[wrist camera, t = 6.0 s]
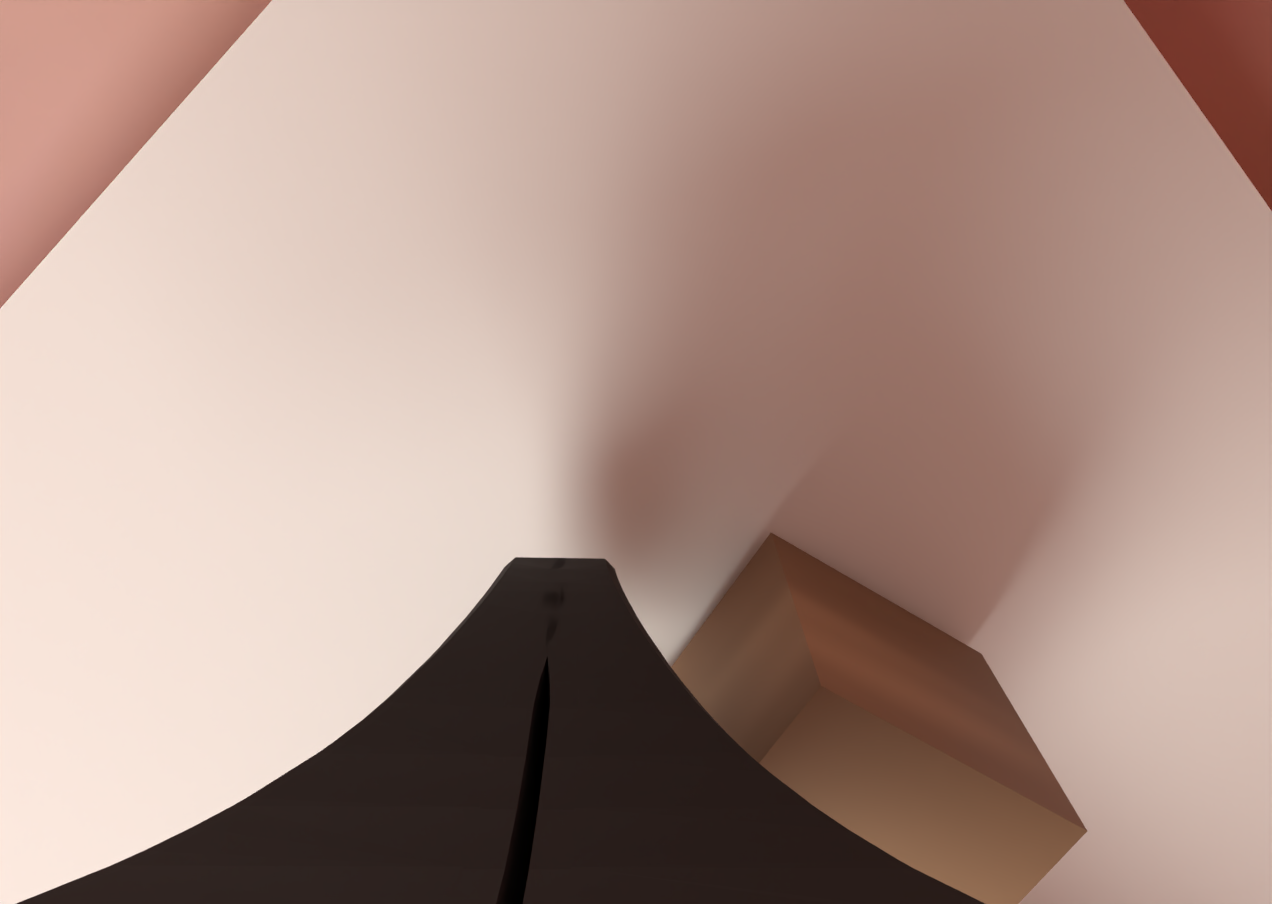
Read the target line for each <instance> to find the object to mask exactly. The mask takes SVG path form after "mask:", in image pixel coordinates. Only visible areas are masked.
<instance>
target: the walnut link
mask: <svg viewBox="0 0 1272 904" xmlns="http://www.w3.org/2000/svg"><path fill="white" fill-rule="evenodd" d="M671 668H672V669H673V670H674V672H675V673H676V674H677V676H678V677H679V678H680V680H681V681H682V682H683V683H684V685H685V686H686V687H687V688H688V689H689V691H690V692H691V693H692V694H693V696H694V697H695V698H696V699H697V700H698V702H699V703H700V704H701V705H702V706H703V708H704V709H705V710H706V711H707V712H708V713H709V714H710V715H711V716H712V718H713V719H714V720H715V721H716V722H717V723H718V724H719V725H720V726H721V727H722V728H723V729H724V730H725V732H726V733H727V734H728V735H729V736H730V737H731V738H732V739H733V740H735V741H736V742H737V743H738V744H739V745H740V746H741V747H742V748H743V749H744V750H745V751H746V752H747V753H748V754H749V755H750V756H751V757H752V758H754V759H755V760H756V761H757V762H758V763H759V764H761V765H762V766H763V767H764V768H765V769H767V770H768V771H769V772H770V773H771V774H773V775H774V776H775V777H777V778H778V779H779V780H780V781H782V782H783V783H784V784H786V785H787V786H788V787H790V788H791V789H792V790H794V791H795V792H796V793H797V794H799V795H800V796H801V797H803V798H804V799H805V800H807V801H808V802H809V803H810V804H812V805H813V806H815V807H816V808H817V809H819V810H820V811H822V812H823V813H825V814H826V815H828V816H829V817H831V818H832V819H834V820H835V821H837V822H838V823H840V824H841V825H843V826H844V827H846V828H847V829H848V830H850V831H852V832H853V833H855V834H857V835H858V836H860V837H862V838H863V839H865V840H867V841H868V842H870V843H872V844H873V845H875V846H876V847H878V848H880V849H881V850H883V851H885V852H886V853H888V854H890V855H891V856H893V857H895V858H896V859H898V860H900V861H901V862H903V863H905V864H907V865H909V866H910V867H912V868H914V869H916V870H918V871H920V872H922V873H924V874H926V875H928V876H930V877H932V878H934V879H936V880H938V881H940V882H942V883H944V884H946V885H948V886H951V887H953V888H955V889H957V890H959V891H961V892H963V893H965V894H967V895H969V896H971V897H973V898H975V899H977V900H979V901H981V902H983V903H985V904H1019V903H1020V901H1021V900H1022V899H1023V898H1024V897H1025V896H1026V895H1027V894H1028V893H1029V892H1030V891H1031V890H1032V889H1033V888H1034V887H1035V886H1036V885H1037V884H1038V883H1039V882H1040V880H1041V879H1042V878H1043V877H1044V876H1045V875H1046V874H1047V873H1048V872H1049V871H1050V870H1051V869H1052V868H1053V867H1054V866H1055V865H1056V864H1057V863H1058V862H1059V861H1060V859H1061V858H1062V857H1063V856H1064V855H1065V854H1066V853H1067V852H1068V851H1069V850H1070V849H1071V848H1072V847H1073V846H1074V845H1075V844H1076V843H1077V842H1078V841H1079V840H1080V838H1081V837H1082V836H1083V835H1084V834H1085V833H1086V832H1087V829H1086V828H1085V826H1084V824H1083V823H1082V821H1081V819H1080V818H1079V816H1078V814H1077V813H1076V811H1075V809H1074V808H1073V806H1072V804H1071V803H1070V801H1069V799H1068V798H1067V796H1066V794H1065V793H1064V791H1063V789H1062V788H1061V786H1060V784H1059V783H1058V781H1057V779H1056V778H1055V776H1054V774H1053V773H1052V771H1051V769H1050V768H1049V766H1048V764H1047V763H1046V761H1045V759H1044V757H1043V756H1042V754H1041V752H1040V751H1039V749H1038V747H1037V746H1036V744H1035V742H1034V741H1033V739H1032V737H1031V736H1030V734H1029V732H1028V731H1027V729H1026V727H1025V726H1024V724H1023V722H1022V721H1021V719H1020V717H1019V716H1018V714H1017V712H1016V711H1015V709H1014V707H1013V706H1012V704H1011V702H1010V701H1009V699H1008V697H1007V696H1006V694H1005V692H1004V691H1003V689H1002V687H1001V686H1000V684H999V682H998V681H997V679H996V677H995V675H994V674H993V672H992V670H991V669H990V667H989V665H988V664H987V662H986V660H985V659H984V657H983V655H982V654H981V653H980V652H978V651H976V650H974V649H973V648H971V647H969V646H967V645H966V644H964V643H962V642H960V641H959V640H957V639H955V638H953V637H952V636H950V635H948V634H947V633H945V632H943V631H941V630H940V629H938V628H936V627H934V626H933V625H931V624H929V623H927V622H926V621H924V620H922V619H921V618H919V617H917V616H915V615H914V614H912V613H910V612H908V611H907V610H905V609H903V608H901V607H900V606H898V605H896V604H894V603H893V602H891V601H889V600H888V599H886V598H884V597H882V596H881V595H879V594H877V593H875V592H874V591H872V590H870V589H868V588H867V587H865V586H863V585H861V584H860V583H858V582H856V581H855V580H853V579H851V578H849V577H848V576H846V575H844V574H842V573H841V572H839V571H837V570H835V569H834V568H832V567H830V566H829V565H827V564H825V563H823V562H822V561H820V560H818V559H816V558H815V557H813V556H811V555H809V554H808V553H806V552H804V551H802V550H801V549H799V548H797V547H796V546H794V545H792V544H790V543H789V542H787V541H785V540H783V539H782V538H780V537H778V536H776V535H775V534H773V533H770V534H769V536H768V537H767V538H766V540H765V541H764V542H763V544H762V545H761V546H760V548H759V549H758V550H757V552H756V553H755V555H754V556H753V557H752V559H751V560H750V561H749V563H748V564H747V565H746V567H745V568H744V569H743V571H742V572H741V573H740V575H739V576H738V577H737V579H736V580H735V582H734V583H733V584H732V586H731V587H730V588H729V590H728V591H727V592H726V594H725V595H724V596H723V598H722V599H721V600H720V602H719V603H718V605H717V606H716V607H715V609H714V610H713V611H712V613H711V614H710V615H709V617H708V618H707V619H706V621H705V622H704V623H703V625H702V626H701V627H700V629H699V630H698V632H697V633H696V634H695V636H694V637H693V638H692V640H691V641H690V642H689V644H688V645H687V646H686V648H685V649H684V650H683V652H682V653H681V655H680V656H679V657H678V659H677V660H676V661H675V663H674V664H673V665H672V667H671Z"/></svg>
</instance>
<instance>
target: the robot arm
mask: <svg viewBox="0 0 1272 904" xmlns="http://www.w3.org/2000/svg"><path fill="white" fill-rule="evenodd" d="M16 904H985V903H983V902H981V901H979V900H977V899H975V898H973V897H971V896H969V895H967V894H965V893H963V892H961V891H959V890H957V889H955V888H953V887H951V886H948V885H946V884H944V883H942V882H940V881H938V880H936V879H934V878H932V877H930V876H928V875H926V874H924V873H922V872H920V871H918V870H916V869H914V868H912V867H910V866H909V865H907V864H905V863H903V862H901V861H900V860H898V859H896V858H895V857H893V856H891V855H890V854H888V853H886V852H885V851H883V850H881V849H880V848H878V847H876V846H875V845H873V844H872V843H870V842H868V841H867V840H865V839H863V838H862V837H860V836H858V835H857V834H855V833H853V832H852V831H850V830H848V829H847V828H846V827H844V826H843V825H841V824H840V823H838V822H837V821H835V820H834V819H832V818H831V817H829V816H828V815H826V814H825V813H823V812H822V811H820V810H819V809H817V808H816V807H815V806H813V805H812V804H810V803H809V802H808V801H807V800H805V799H804V798H803V797H801V796H800V795H799V794H797V793H796V792H795V791H794V790H792V789H791V788H790V787H788V786H787V785H786V784H784V783H783V782H782V781H780V780H779V779H778V778H777V777H775V776H774V775H773V774H771V773H770V772H769V771H768V770H767V769H765V768H764V767H763V766H762V765H761V764H759V763H758V762H757V761H756V760H755V759H754V758H752V757H751V756H750V755H749V754H748V753H747V752H746V751H745V750H744V749H743V748H742V747H741V746H740V745H739V744H738V743H737V742H736V741H735V740H733V739H732V738H731V737H730V736H729V735H728V734H727V733H726V732H725V730H724V729H723V728H722V727H721V726H720V725H719V724H718V723H717V722H716V721H715V720H714V719H713V718H712V716H711V715H710V714H709V713H708V712H707V711H706V710H705V709H704V708H703V706H702V705H701V704H700V703H699V702H698V700H697V699H696V698H695V697H694V696H693V694H692V693H691V692H690V691H689V689H688V688H687V687H686V686H685V685H684V683H683V682H682V681H681V680H680V678H679V677H678V676H677V674H676V673H675V672H674V670H673V669H672V668H671V666H670V665H669V664H668V662H667V661H666V659H665V658H664V657H663V655H662V654H661V652H660V651H659V649H658V648H657V646H656V645H655V643H654V642H653V640H652V639H651V637H650V636H649V635H648V633H647V632H646V630H645V628H644V627H643V625H642V624H641V622H640V620H639V619H638V617H637V615H636V613H635V612H634V610H633V608H632V606H631V604H630V603H629V601H628V599H627V597H626V595H625V593H624V591H623V589H622V587H621V585H620V582H619V580H618V577H617V574H616V571H615V568H614V567H613V566H612V565H611V564H610V563H609V562H608V561H607V560H606V559H601V558H531V557H515V558H514V559H513V560H512V561H511V562H509V563H508V564H507V565H506V566H505V567H504V568H503V570H502V571H501V573H500V574H499V575H498V577H497V578H496V580H495V581H494V582H493V584H492V585H491V586H490V588H489V589H488V590H487V592H486V593H485V594H484V596H483V597H482V598H481V599H480V601H479V602H478V603H477V604H476V605H475V607H474V608H473V609H472V610H471V612H470V613H469V614H468V615H467V616H466V618H465V619H464V620H463V621H462V622H461V623H460V624H459V626H458V627H457V628H456V629H455V630H454V631H453V632H452V633H451V635H450V636H449V637H448V638H447V639H446V640H445V641H444V642H443V643H442V645H441V646H440V647H439V648H438V649H437V650H436V651H435V652H434V653H433V654H432V655H431V656H430V658H429V659H428V660H427V661H426V662H424V663H423V664H422V665H421V666H420V667H419V668H418V669H417V670H416V671H415V672H414V673H413V674H412V675H411V676H410V677H409V678H408V679H407V680H406V681H405V682H404V683H403V684H402V685H401V686H400V687H399V688H398V689H397V690H396V691H394V692H393V693H392V694H391V695H390V696H389V697H388V698H387V699H386V700H385V701H384V702H383V703H381V704H380V705H379V706H378V707H377V708H376V709H375V710H373V711H372V712H371V713H370V714H369V715H368V716H366V717H365V718H364V719H363V720H362V721H360V722H359V723H358V724H356V725H355V726H354V727H352V728H351V729H350V730H348V731H347V732H346V733H345V734H343V735H342V736H341V737H339V738H338V739H337V740H335V741H334V742H333V743H331V744H330V745H328V746H327V747H326V748H324V749H323V750H321V751H320V752H318V753H317V754H315V755H314V756H312V757H311V758H309V759H307V760H306V761H304V762H303V763H301V764H299V765H298V766H296V767H295V768H293V769H291V770H290V771H288V772H287V773H285V774H284V775H282V776H280V777H279V778H277V779H276V780H274V781H272V782H271V783H269V784H268V785H266V786H264V787H263V788H261V789H260V790H258V791H256V792H255V793H253V794H252V795H250V796H248V797H247V798H245V799H243V800H242V801H240V802H238V803H236V804H235V805H233V806H231V807H229V808H227V809H225V810H223V811H222V812H220V813H218V814H216V815H214V816H212V817H210V818H208V819H207V820H205V821H203V822H201V823H199V824H197V825H195V826H193V827H192V828H189V829H187V830H185V831H183V832H181V833H179V834H177V835H175V836H173V837H171V838H169V839H167V840H165V841H163V842H161V843H159V844H157V845H155V846H152V847H150V848H148V849H146V850H144V851H142V852H140V853H138V854H135V855H133V856H131V857H129V858H126V859H124V860H122V861H120V862H118V863H115V864H113V865H111V866H108V867H106V868H103V869H101V870H98V871H96V872H93V873H91V874H88V875H86V876H83V877H81V878H78V879H76V880H73V881H71V882H68V883H66V884H64V885H61V886H59V887H56V888H54V889H51V890H49V891H46V892H44V893H41V894H39V895H36V896H34V897H31V898H29V899H26V900H24V901H21V902H19V903H16Z"/></svg>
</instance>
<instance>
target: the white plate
mask: <svg viewBox="0 0 1272 904" xmlns="http://www.w3.org/2000/svg"><path fill="white" fill-rule="evenodd" d="M770 533H773V534H775V535H776V536H778V537H780V538H782V539H783V540H785V541H787V542H789V543H790V544H792V545H794V546H796V547H797V548H799V549H801V550H802V551H804V552H806V553H808V554H809V555H811V556H813V557H815V558H816V559H818V560H820V561H822V562H823V563H825V564H827V565H829V566H830V567H832V568H834V569H835V570H837V571H839V572H841V573H842V574H844V575H846V576H848V577H849V578H851V579H853V580H855V581H856V582H858V583H860V584H861V585H863V586H865V587H867V588H868V589H870V590H872V591H874V592H875V593H877V594H879V595H881V596H882V597H884V598H886V599H888V600H889V601H891V602H893V603H894V604H896V605H898V606H900V607H901V608H903V609H905V610H907V611H908V612H910V613H912V614H914V615H915V616H917V617H919V618H921V619H922V620H924V621H926V622H927V623H929V624H931V625H933V626H934V627H936V628H938V629H940V630H941V631H943V632H945V633H947V634H948V635H950V636H952V637H953V638H955V639H957V640H959V641H960V642H962V643H964V644H966V645H967V646H969V647H971V648H973V649H974V650H976V651H978V652H980V653H981V654H982V655H983V657H984V659H985V660H986V662H987V664H988V665H989V667H990V669H991V670H992V672H993V674H994V675H995V677H996V679H997V681H998V682H999V684H1000V686H1001V687H1002V689H1003V691H1004V692H1005V694H1006V696H1007V697H1008V699H1009V701H1010V702H1011V704H1012V706H1013V707H1014V709H1015V711H1016V712H1017V714H1018V716H1019V717H1020V719H1021V721H1022V722H1023V724H1024V726H1025V727H1026V729H1027V731H1028V732H1029V734H1030V736H1031V737H1032V739H1033V741H1034V742H1035V744H1036V746H1037V747H1038V749H1039V751H1040V752H1041V754H1042V756H1043V757H1044V759H1045V761H1046V763H1047V764H1048V766H1049V768H1050V769H1051V771H1052V773H1053V774H1054V776H1055V778H1056V779H1057V781H1058V783H1059V784H1060V786H1061V788H1062V789H1063V791H1064V793H1065V794H1066V796H1067V798H1068V799H1069V801H1070V803H1071V804H1072V806H1073V808H1074V809H1075V811H1076V813H1077V814H1078V816H1079V818H1080V819H1081V821H1082V823H1083V824H1084V826H1085V828H1086V829H1087V832H1086V833H1085V834H1084V835H1083V836H1082V837H1081V838H1080V840H1079V841H1078V842H1077V843H1076V844H1075V845H1074V846H1073V847H1072V848H1071V849H1070V850H1069V851H1068V852H1067V853H1066V854H1065V855H1064V856H1063V857H1062V858H1061V859H1060V861H1059V862H1058V863H1057V864H1056V865H1055V866H1054V867H1053V868H1052V869H1051V870H1050V871H1049V872H1048V873H1047V874H1046V875H1045V876H1044V877H1043V878H1042V879H1041V880H1040V882H1039V883H1038V884H1037V885H1036V886H1035V887H1034V888H1033V889H1032V890H1031V891H1030V892H1029V893H1028V894H1027V895H1026V896H1025V897H1024V898H1023V899H1022V900H1021V901H1020V903H1019V904H1272V211H1271V209H1270V208H1269V207H1268V205H1267V204H1266V202H1265V201H1264V199H1263V198H1262V197H1261V195H1260V194H1259V192H1258V191H1257V189H1256V188H1255V187H1254V185H1253V184H1252V182H1251V181H1250V179H1249V178H1248V177H1247V175H1246V174H1245V172H1244V171H1243V170H1242V168H1241V167H1240V165H1239V164H1238V162H1237V161H1236V160H1235V158H1234V157H1233V155H1232V154H1231V152H1230V151H1229V150H1228V148H1227V147H1226V145H1225V144H1224V142H1223V141H1222V140H1221V138H1220V137H1219V135H1218V134H1217V133H1216V131H1215V130H1214V128H1213V127H1212V125H1211V124H1210V123H1209V121H1208V120H1207V118H1206V117H1205V115H1204V114H1203V113H1202V111H1201V110H1200V108H1199V107H1198V105H1197V104H1196V103H1195V101H1194V100H1193V98H1192V97H1191V96H1190V94H1189V93H1188V91H1187V90H1186V88H1185V87H1184V86H1183V84H1182V83H1181V81H1180V80H1179V78H1178V77H1177V76H1176V74H1175V73H1174V71H1173V70H1172V69H1171V67H1170V66H1169V64H1168V63H1167V61H1166V60H1165V59H1164V57H1163V56H1162V54H1161V53H1160V51H1159V50H1158V49H1157V47H1156V46H1155V44H1154V43H1153V41H1152V40H1151V39H1150V37H1149V36H1148V34H1147V33H1146V32H1145V30H1144V29H1143V27H1142V26H1141V24H1140V23H1139V22H1138V20H1137V19H1136V17H1135V16H1134V14H1133V13H1132V12H1131V10H1130V9H1129V7H1128V6H1127V4H1126V3H1125V2H1124V0H272V1H271V2H270V3H269V4H268V5H267V7H266V8H265V9H264V10H263V11H262V12H261V13H260V15H259V16H258V17H257V18H256V19H255V20H254V21H253V22H252V24H251V25H250V26H249V27H248V28H247V29H246V30H245V32H244V33H243V34H242V35H241V36H240V37H239V38H238V40H237V41H236V42H235V43H234V44H233V45H232V46H231V47H230V49H229V50H228V51H227V52H226V53H225V54H224V55H223V57H222V58H221V59H220V60H219V61H218V62H217V63H216V64H215V66H214V67H213V68H212V69H211V70H210V71H209V72H208V74H207V75H206V76H205V77H204V78H203V79H202V80H201V81H200V83H199V84H198V85H197V86H196V87H195V88H194V89H193V91H192V92H191V93H190V94H189V95H188V96H187V97H186V98H185V100H184V101H183V102H182V103H181V104H180V105H179V106H178V108H177V109H176V110H175V111H174V112H173V113H172V114H171V115H170V117H169V118H168V119H167V120H166V121H165V122H164V123H163V125H162V126H161V127H160V128H159V129H158V130H157V131H156V133H155V134H154V135H153V136H152V137H151V138H150V139H149V140H148V142H147V143H146V144H145V145H144V146H143V147H142V148H141V150H140V151H139V152H138V153H137V154H136V155H135V156H134V157H133V159H132V160H131V161H130V162H129V163H128V164H127V165H126V167H125V168H124V169H123V170H122V171H121V172H120V173H119V174H118V176H117V177H116V178H115V179H114V180H113V181H112V182H111V184H110V185H109V186H108V187H107V188H106V189H105V190H104V191H103V193H102V194H101V195H100V196H99V197H98V198H97V199H96V201H95V202H94V203H93V204H92V205H91V206H90V207H89V208H88V210H87V211H86V212H85V213H84V214H83V215H82V216H81V218H80V219H79V220H78V221H77V222H76V223H75V224H74V226H73V227H72V228H71V229H70V230H69V231H68V232H67V233H66V235H65V236H64V237H63V238H62V239H61V240H60V241H59V243H58V244H57V245H56V246H55V247H54V248H53V249H52V250H51V252H50V253H49V254H48V255H47V256H46V257H45V258H44V260H43V261H42V262H41V263H40V264H39V265H38V266H37V267H36V269H35V270H34V271H33V272H32V273H31V274H30V275H29V277H28V278H27V279H26V280H25V281H24V282H23V283H22V284H21V286H20V287H19V288H18V289H17V290H16V291H15V292H14V294H13V295H12V296H11V297H10V298H9V299H8V300H7V301H6V303H5V304H4V305H3V306H2V307H1V308H0V904H16V903H19V902H21V901H24V900H26V899H29V898H31V897H34V896H36V895H39V894H41V893H44V892H46V891H49V890H51V889H54V888H56V887H59V886H61V885H64V884H66V883H68V882H71V881H73V880H76V879H78V878H81V877H83V876H86V875H88V874H91V873H93V872H96V871H98V870H101V869H103V868H106V867H108V866H111V865H113V864H115V863H118V862H120V861H122V860H124V859H126V858H129V857H131V856H133V855H135V854H138V853H140V852H142V851H144V850H146V849H148V848H150V847H152V846H155V845H157V844H159V843H161V842H163V841H165V840H167V839H169V838H171V837H173V836H175V835H177V834H179V833H181V832H183V831H185V830H187V829H189V828H192V827H193V826H195V825H197V824H199V823H201V822H203V821H205V820H207V819H208V818H210V817H212V816H214V815H216V814H218V813H220V812H222V811H223V810H225V809H227V808H229V807H231V806H233V805H235V804H236V803H238V802H240V801H242V800H243V799H245V798H247V797H248V796H250V795H252V794H253V793H255V792H256V791H258V790H260V789H261V788H263V787H264V786H266V785H268V784H269V783H271V782H272V781H274V780H276V779H277V778H279V777H280V776H282V775H284V774H285V773H287V772H288V771H290V770H291V769H293V768H295V767H296V766H298V765H299V764H301V763H303V762H304V761H306V760H307V759H309V758H311V757H312V756H314V755H315V754H317V753H318V752H320V751H321V750H323V749H324V748H326V747H327V746H328V745H330V744H331V743H333V742H334V741H335V740H337V739H338V738H339V737H341V736H342V735H343V734H345V733H346V732H347V731H348V730H350V729H351V728H352V727H354V726H355V725H356V724H358V723H359V722H360V721H362V720H363V719H364V718H365V717H366V716H368V715H369V714H370V713H371V712H372V711H373V710H375V709H376V708H377V707H378V706H379V705H380V704H381V703H383V702H384V701H385V700H386V699H387V698H388V697H389V696H390V695H391V694H392V693H393V692H394V691H396V690H397V689H398V688H399V687H400V686H401V685H402V684H403V683H404V682H405V681H406V680H407V679H408V678H409V677H410V676H411V675H412V674H413V673H414V672H415V671H416V670H417V669H418V668H419V667H420V666H421V665H422V664H423V663H424V662H426V661H427V660H428V659H429V658H430V656H431V655H432V654H433V653H434V652H435V651H436V650H437V649H438V648H439V647H440V646H441V645H442V643H443V642H444V641H445V640H446V639H447V638H448V637H449V636H450V635H451V633H452V632H453V631H454V630H455V629H456V628H457V627H458V626H459V624H460V623H461V622H462V621H463V620H464V619H465V618H466V616H467V615H468V614H469V613H470V612H471V610H472V609H473V608H474V607H475V605H476V604H477V603H478V602H479V601H480V599H481V598H482V597H483V596H484V594H485V593H486V592H487V590H488V589H489V588H490V586H491V585H492V584H493V582H494V581H495V580H496V578H497V577H498V575H499V574H500V573H501V571H502V570H503V568H504V567H505V566H506V565H507V564H508V563H509V562H511V561H512V560H513V559H514V558H515V557H531V558H601V559H606V560H607V561H608V562H609V563H610V564H611V565H612V566H613V567H614V568H615V571H616V574H617V577H618V580H619V582H620V585H621V587H622V589H623V591H624V593H625V595H626V597H627V599H628V601H629V603H630V604H631V606H632V608H633V610H634V612H635V613H636V615H637V617H638V619H639V620H640V622H641V624H642V625H643V627H644V628H645V630H646V632H647V633H648V635H649V636H650V637H651V639H652V640H653V642H654V643H655V645H656V646H657V648H658V649H659V651H660V652H661V654H662V655H663V657H664V658H665V659H666V661H667V662H668V664H669V665H670V666H671V667H672V665H673V664H674V663H675V661H676V660H677V659H678V657H679V656H680V655H681V653H682V652H683V650H684V649H685V648H686V646H687V645H688V644H689V642H690V641H691V640H692V638H693V637H694V636H695V634H696V633H697V632H698V630H699V629H700V627H701V626H702V625H703V623H704V622H705V621H706V619H707V618H708V617H709V615H710V614H711V613H712V611H713V610H714V609H715V607H716V606H717V605H718V603H719V602H720V600H721V599H722V598H723V596H724V595H725V594H726V592H727V591H728V590H729V588H730V587H731V586H732V584H733V583H734V582H735V580H736V579H737V577H738V576H739V575H740V573H741V572H742V571H743V569H744V568H745V567H746V565H747V564H748V563H749V561H750V560H751V559H752V557H753V556H754V555H755V553H756V552H757V550H758V549H759V548H760V546H761V545H762V544H763V542H764V541H765V540H766V538H767V537H768V536H769V534H770Z"/></svg>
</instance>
